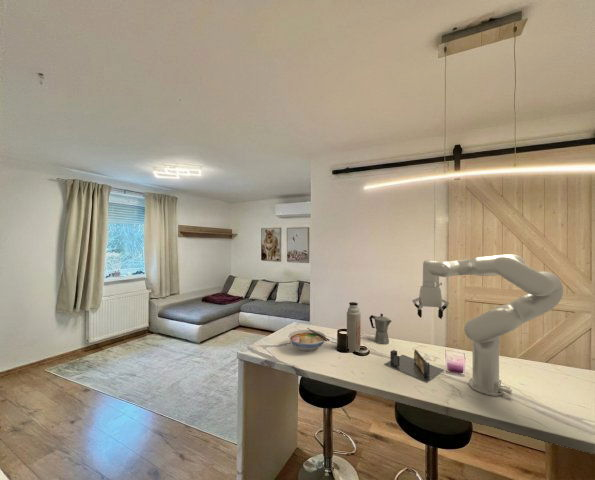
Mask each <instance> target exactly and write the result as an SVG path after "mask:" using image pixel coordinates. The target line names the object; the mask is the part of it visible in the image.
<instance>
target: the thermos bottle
mask: <svg viewBox="0 0 595 480" xmlns="http://www.w3.org/2000/svg"><path fill="white" fill-rule="evenodd" d="M358 304H359V303H357V302H356V301H355V302H353V301H351V302H349V303H348V307H347V311H346V337H347V336H348V349H349V351H348V352H349V353H353V352H354V351H356V350H360V348H361V347H362V345H361V341H362V340H361V339H362V338H361V334H362V333H361V329H362V328H361V324H362V323H361V322H362V321H361V318H362V317H361V315H362V313H361V312H360V308H359V305H358ZM360 351H361V350H360Z"/></svg>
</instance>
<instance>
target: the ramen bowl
mask: <svg viewBox="0 0 595 480" xmlns="http://www.w3.org/2000/svg"><path fill="white" fill-rule="evenodd" d="M288 339H289V341H290V342H291V344H292V345H293V346H294V347H295V348H297V349H299V350H302V351H305V350H306V351H307V352H308V351H309V350H310V351H314V350H316V349H318V348H320V347H321V346H322V345H323V344H324V343H325V342H327V341H328V342H330V338H327V336H326V334H325V333H324V332H322V331H318V330H314V329H310V328H308V327H306V329H298V330H295V331H293V332H291V333H289V335H288ZM306 351H305V352H306Z"/></svg>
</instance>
